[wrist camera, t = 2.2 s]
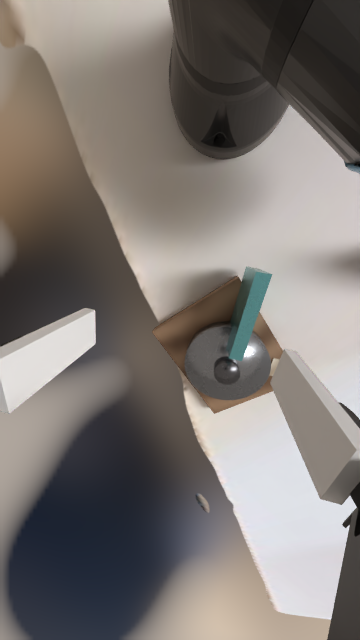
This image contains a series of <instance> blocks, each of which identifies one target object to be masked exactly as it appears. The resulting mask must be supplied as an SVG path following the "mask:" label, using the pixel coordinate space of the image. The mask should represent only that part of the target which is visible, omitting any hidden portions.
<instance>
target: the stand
mask: <svg viewBox="0 0 360 640" xmlns="http://www.w3.org/2000/svg"><path fill="white" fill-rule="evenodd" d="M241 283H242V282H241V280H240V279H239V277H238V276H236V277H235V278H233V279H232V280H230V281H229V282H227V283H225V284H224V285H222V286H221V287H219V288H217V289H216V290H214V291H213V292H211V293H209V294H208V295H206V296H205V297H203V298H202V299H200V300H198V301H197V302H195V303H194V304H192V305H190V306H189V307H187V308H186V309H184V310H183V311H181V312H179V313H178V314H176V315H175V316H173V317H171V318H170V319H168V320H167V321H165V322H164V323H162V324H160V325H159V326H157V327H156V328H155V329H154V330H153V331H152V333H153V334H154V335H155V337H156V338H157V339H158V341H159V342H160V343H161V345H162V346H163V347H164V349H165V350H166V351H167V352H168V354H169V355H170V356H171V358H172V359H173V360H174V362H175V363H176V364H177V366H178V367H179V368H180V369H181V371H182V372H183V373H184V375H185V376H186V377H187V374H186V371H185V356H186V352H187V348H188V344H189V342H190V340H191V339H192V337H193V336H194V335H195V333H196V332H198V331H199V330H200V329H202V328H203V327H205V326H207V325H209V324H212V323H215V322H222V321H230V320H231V317H232V314H233V310H234V307H235V303H236V300H237V296H238V293H239V290H240V286H241ZM253 331H255V332H256V333H257V334H258V335H259V337H260V338H261V340H262V341H263V343H264V345H265V347H266V349H267V351H268V353H269V355H270V359H271V371H270V375H269V377H268V379H267V381H266V383H265V384H264V385H263V386H262V387H261V389H259V390H258V391H257V392H256V393H254V394H252V395H250V396H248V397H245V398H242V399H238V400H219V399H215V398H212V397H209V396H207V395H205V394H203V393H202V392H200V391H199V390H198V389H196V388H195V387H194V388H195V389H196V390H197V392H198V393H199V394H200V396H201V397H202V398H203V400H204V401H205V402H206V403H207V405H208V406H209V407H210V409H211V410H212V411H213V413H214V414H215V413H217V412H220V411H223V410H225V409H228V408H230V407H233V406H235V405H238V404H241V403H243V402H246V401H248V400H251V399H254V398H256V397H259V396H261V395H264V394H266V393H269V392H272V391H273V388H272V386H271V384H270V382H271V379H272V377H273V375H274V372H275V370H276V367H277V365H278V362H279V360H280V358H281V355H282V353H283V350H282V349H281V347H280V345H279V344H278V342H277V340H276V339H275V337H274V335H273V334H272V332H271V330H270V329H269V327H268V325H267V324H266V322H265V320H264V319H263V317H262V315H261V314H260V312H259V314H258V317H257V319H256V322H255V325H254V328H253ZM187 379H188V377H187ZM188 380H189V379H188ZM189 381H190V380H189ZM190 383H191V382H190ZM191 384H192V383H191ZM192 385H193V384H192Z"/></svg>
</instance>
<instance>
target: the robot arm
mask: <svg viewBox="0 0 360 640" xmlns="http://www.w3.org/2000/svg"><path fill="white" fill-rule="evenodd" d="M168 1H169V7H170V12H171V17H172V23H173V29H174V33H173V44H172V50H171V57H170V66H169V85H170V95H171V101H172V105H173V109H174V112H175V116H176V119H177V122H178V125H179V127H180V129H181V131H182V133H183V135H184V136H185V138H186V139H187V141H188V142H189V143H190V144H191V145H192V146H193V147H194V148H195V149H196V150H198V151H199V152H201V153H202V154H204V155H207V156H209V157H213V158H218V159H228V158H234V157H238V156H241V155H243V154H245V153H247V152H249V151H251V150H253V149H254V148H256V147H257V146H258V145H259V144H261V143H262V142H263V141H264V140H265V139H266V138H267V137H268V136H269V135H270V134H271V133H272V131H273V130H274V129H275V128H276V126H277V125H278V123H279V122H280V120H281V119H282V117H283V115H284V113H285V111H286V109H287V107H288V106H289V104H290V105H291V106H292V107H293V108H294V109H295V110H296V111H297V112H298V113H299V114H300V115H301V116H302V117H303V118H304V119H305V120H306V121H307V122H308V123H309V124H310V125H311V126H312V127H313V128H314V129H315V130H316V131H317V132H318V133H319V134H320V135H321V136H322V138H323V139H324V140H325V141H326V142H327V143H328V144H329V145H330V146H331V147H332V148H333V149H334V150H335V151H336V152H337V153H338V154H339V155H340V156H341V157H342V159H343V160H344V163H345V166H346V167H347V168H348V169H349V170H351V171H354V172H358V173H359V174H360V0H168ZM95 338H96V335H95V310H92V309H87V308H84V309H82V310H80V311H78V312H75V313H73V314H71V315H69V316H67V317H65V318H62V319H60V320H58V321H56V322H53V323H51V324H50V325H47V326H45V327H43V328H40V329H38V330H36V331H34V332H32V333H30V334H27V335H24V336H21V337H18V338H16V339H13V340H12V341H10V342H7V343H5V344H2V345H1V346H0V411H1V412H5V413H8V414H10V413H11V412H12V411H13V410H15V409H16V408H17V407H18V406H19V405H21V404H22V403H23V402H24V401H26V400H27V399H28V398H29V397H31V396H32V395H33V394H34V393H36V392H37V391H38V390H39V389H40V388H41V387H43V386H44V385H45V384H47V383H48V382H49V381H50V380H52V379H53V378H54V377H55V376H56V375H58V374H59V373H60V372H61V371H63V370H64V369H65V368H66V367H68V366H69V365H70V364H71V363H73V362H74V361H75V360H76V359H77V358H79V357H80V356H81V355H82V354H84V353H85V352H86V351H87V350H89V349H90V348H91V347H92V346H93V345H95V344H96V339H95ZM270 384H271V386H272V388H273V391H274V393H275V395H276V398H277V400H278V402H279V405H280V407H281V409H282V412H283V414H284V416H285V418H286V421H287V423H288V425H289V428H290V430H291V432H292V435H293V437H294V439H295V442H296V444H297V446H298V449H299V451H300V453H301V455H302V458H303V460H304V462H305V465H306V467H307V469H308V472H309V474H310V476H311V479H312V481H313V483H314V486H315V488H316V490H317V492H318V495H319V497H320V499H323V500H326V501H330V502H333V503H337V504H341V505H342V504H343V503H344V502H345V500H346V499H347V498H348V497H349V496H351V497H352V499H353V501H354V503H355V504H356V506H357V508H356V509H355V510H354V511H353V512H352V513H351V515H350V516H349V517H348V518H347V519H346V520H345V521H344V523H343V524H342V525H343V526H344V527H345V528H346V527H347V526H348V525H350V527H349V533H348V538H347V543H346V548H345V553H344V558H343V563H342V568H341V573H340V578H339V583H338V588H337V593H336V598H335V603H334V609H333V614H332V619H331V624H330V629H329V634H328V639H327V640H360V420H359V418H358V417H357V416H356V415H355V414H354V413H353V412H352V411H351V410H350V409H348V408H347V407H346V406H345V405H343V404H342V403H339V402H337V400H336V399H335V398H334V397H333V396H332V394H331V393H330V392H329V391H328V389H327V388H326V387H325V386H324V385H323V383H322V382H321V381H320V380H319V379H318V377H317V376H316V375H315V374H314V372H313V371H312V370H311V369H310V368H309V366H308V365H307V364H306V363H305V361H304V360H303V359H302V358H301V357H300V355H299V354H298V353H297V352H296V351H291V350H287V349H284V350H283V353H282V355H281V358H280V360H279V362H278V365H277V367H276V370H275V372H274V375H273V377H272V379H271V382H270Z"/></svg>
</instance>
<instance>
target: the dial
mask: <svg viewBox="0 0 360 640" xmlns="http://www.w3.org/2000/svg"><path fill="white" fill-rule="evenodd" d="M271 276H272V274H270V273H267V272H265V271H262V270H260V269H257V268H251V267H246V269H245V273H244V276H243V279H242V283H241V286H240V290H239V293H238V296H237V300H236V303H235V307H234V310H233V314H232V317H231V320H230V321H222V322H215V323H212V324H209V325H207V326H205V327H203V328H202V329H200V330H199V331H198V332H196V333H195V335H194V336H193V337H192V339H191V340H190V342H189V344H188V348H187V352H186V356H185V371H186V374H187V377H188V379H189V380H190V382H191V383H192V384H193V386H194V387H195V388H196V389H198V390H199V391H200V392H202V393H203V394H205V395H207V396H209V397H212V398H215V399H219V400H238V399H242V398H245V397H248V396H250V395H252V394H254V393H256V392H257V391H258V390H259V389H261V387H262V386H263V385H264V384H265V383H266V381H267V379H268V377H269V375H270V371H271V359H270V355H269V353H268V351H267V349H266V347H265V345H264V343H263V341H262V340H261V338H260V337H259V335H258V334H257V333H256V332H255V331H253V328H254V325H255V322H256V319H257V317H258V314H259V311H260V308H261V305H262V302H263V299H264V296H265V293H266V291H267V288H268V285H269V282H270V279H271Z"/></svg>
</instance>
